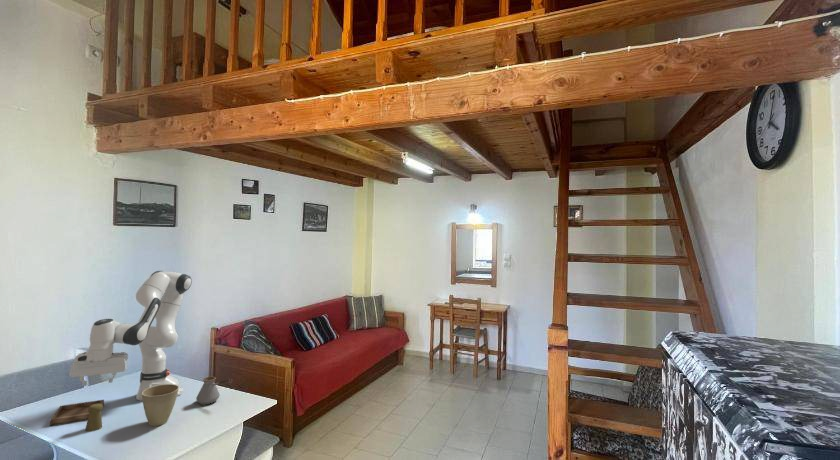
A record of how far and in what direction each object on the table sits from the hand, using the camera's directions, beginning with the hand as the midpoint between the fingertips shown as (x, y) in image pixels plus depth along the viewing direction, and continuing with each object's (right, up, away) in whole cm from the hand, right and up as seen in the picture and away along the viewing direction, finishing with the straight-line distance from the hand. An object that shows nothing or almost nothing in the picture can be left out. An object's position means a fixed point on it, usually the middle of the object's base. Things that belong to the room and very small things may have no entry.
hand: (97, 383), depth 170 cm
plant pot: (+24, -22, +7) cm, 33 cm away
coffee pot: (+38, -24, +31) cm, 55 cm away
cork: (-1, -21, -1) cm, 21 cm away
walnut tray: (-19, -21, +11) cm, 30 cm away
